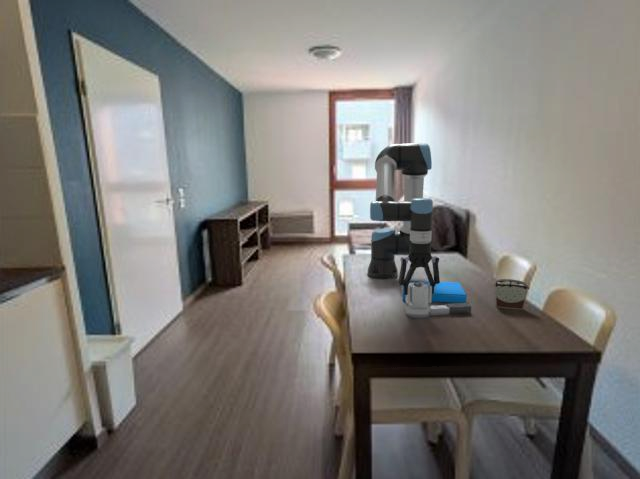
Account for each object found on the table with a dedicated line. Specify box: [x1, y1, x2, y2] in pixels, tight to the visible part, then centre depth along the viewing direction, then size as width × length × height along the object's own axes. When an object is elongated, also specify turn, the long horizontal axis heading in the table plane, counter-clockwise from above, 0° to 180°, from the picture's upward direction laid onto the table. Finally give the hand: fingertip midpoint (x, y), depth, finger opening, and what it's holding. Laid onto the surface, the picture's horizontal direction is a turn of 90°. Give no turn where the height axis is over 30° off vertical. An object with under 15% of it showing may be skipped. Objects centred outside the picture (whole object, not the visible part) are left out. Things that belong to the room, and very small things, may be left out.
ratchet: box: [405, 302, 472, 320], centre depth 142 cm, size 9×24×7 cm, turn 95°
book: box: [401, 280, 467, 304], centre depth 163 cm, size 17×4×25 cm
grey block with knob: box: [408, 282, 429, 310], centre depth 141 cm, size 6×6×9 cm
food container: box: [493, 278, 530, 311], centre depth 149 cm, size 12×6×10 cm, turn 71°
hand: (418, 302), depth 142 cm, fingers open, 7 cm apart
